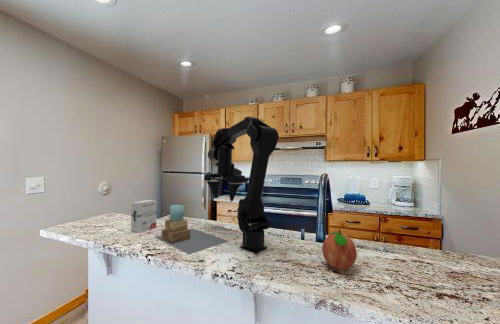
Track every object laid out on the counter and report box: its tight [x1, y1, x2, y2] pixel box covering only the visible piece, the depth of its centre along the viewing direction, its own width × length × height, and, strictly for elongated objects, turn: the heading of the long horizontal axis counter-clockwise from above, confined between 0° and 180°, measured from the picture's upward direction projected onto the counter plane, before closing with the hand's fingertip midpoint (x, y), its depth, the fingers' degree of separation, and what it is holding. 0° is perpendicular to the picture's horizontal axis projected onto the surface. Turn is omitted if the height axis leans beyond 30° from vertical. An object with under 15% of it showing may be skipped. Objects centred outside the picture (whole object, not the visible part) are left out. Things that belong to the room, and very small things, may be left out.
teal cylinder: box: [169, 204, 185, 222], centre depth 77 cm, size 5×5×5 cm
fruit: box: [321, 229, 358, 271], centre depth 59 cm, size 9×10×10 cm
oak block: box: [164, 218, 188, 233], centre depth 77 cm, size 6×6×3 cm
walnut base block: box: [161, 227, 191, 244], centre depth 77 cm, size 7×7×3 cm
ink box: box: [130, 199, 157, 234], centre depth 87 cm, size 8×5×12 cm, turn 160°
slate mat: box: [154, 228, 229, 255], centre depth 77 cm, size 22×16×1 cm
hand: (223, 199), depth 88 cm, fingers open, 9 cm apart
